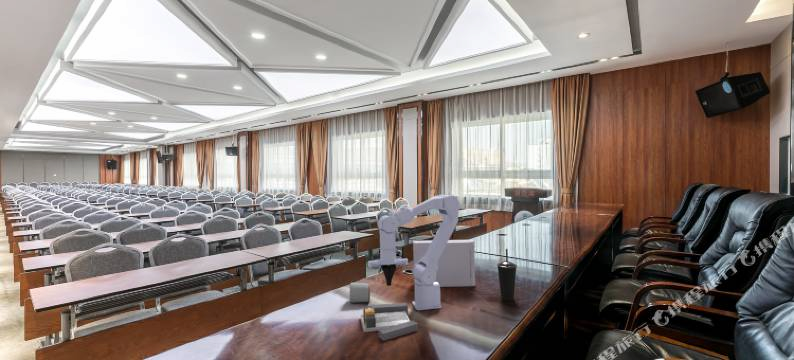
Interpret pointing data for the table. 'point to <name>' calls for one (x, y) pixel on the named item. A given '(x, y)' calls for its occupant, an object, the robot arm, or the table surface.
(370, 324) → the panel
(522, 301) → the table surface
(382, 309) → the duct
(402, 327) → the duct
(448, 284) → the game console
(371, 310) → the orange l block
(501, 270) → the drinking cup
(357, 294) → the gray rounded block
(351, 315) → the table surface
